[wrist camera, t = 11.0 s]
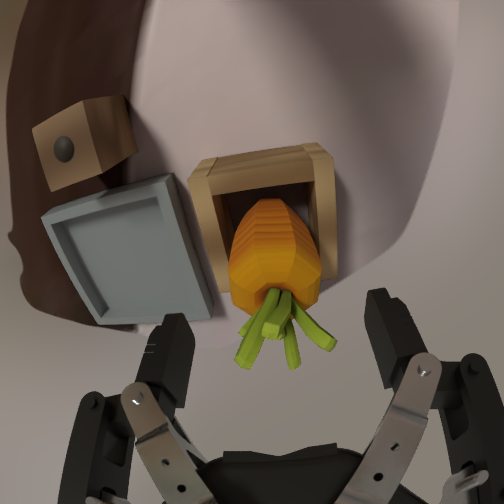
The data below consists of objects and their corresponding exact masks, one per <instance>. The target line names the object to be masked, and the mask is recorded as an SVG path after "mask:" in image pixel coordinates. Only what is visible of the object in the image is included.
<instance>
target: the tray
mask: <svg viewBox="0 0 504 504" xmlns="http://www.w3.org/2000/svg"><path fill="white" fill-rule="evenodd" d="M41 219H42V222H43V224H44V226H45V228H46V231H47V233H48V235H49V237H50V239H51V242H52V244H53V246H54V248H55V250H56V252H57V254H58V256H59V258H60V260H61V262H62V264H63V266H64V267H65V269H66V271H67V273H68V275H69V277H70V278H71V280H72V282H73V284H74V286H75V287H76V289H77V291H78V293H79V294H80V296H81V298H82V299H83V301H84V303H85V304H86V306H87V307H88V309H89V311H90V312H91V314H92V315H93V317H94V318H95V320H96V321H97V323H98V324H141V323H162V322H163V319H164V316H165V315H166V314H169V313H183V314H184V315H185V317H186V319H187V321H196V320H209V319H211V318H212V312H213V306H214V303H213V300H212V297H211V294H210V291H209V288H208V285H207V282H206V279H205V276H204V273H203V270H202V267H201V264H200V261H199V258H198V255H197V252H196V249H195V246H194V242H193V239H192V236H191V233H190V229H189V226H188V223H187V220H186V216H185V213H184V210H183V206H182V203H181V199H180V196H179V192H178V189H177V185H176V182H175V178H174V174H173V173H170V174H165V175H161V176H157V177H153V178H149V179H145V180H141V181H137V182H134V183H130V184H126V185H123V186H119V187H116V188H112V189H109V190H105V191H102V192H99V193H95V194H92V195H89V196H86V197H83V198H80V199H77V200H74V201H71V202H68V203H65V204H62V205H59V206H56V207H53V208H52V209H51V210H49V211H48V212H47V213H46V214H44V215H43V216H42V217H41Z"/></svg>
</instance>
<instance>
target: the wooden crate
mask: <svg viewBox="0 0 504 504" xmlns="http://www.w3.org/2000/svg"><path fill="white" fill-rule="evenodd" d="M187 182H188V185H189V189H190V193H191V196H192V200H193V204H194V207H195V211H196V215H197V218H198V222H199V225H200V229H201V232H202V236H203V239H204V242H205V246H206V249H207V253H208V256H209V259H210V263H211V266H212V269H213V272H214V276H215V279H216V282H217V285H218V289H219V292H220V293H226V292H231V290H230V282H229V275H228V263H229V258H230V254H231V249H232V244H233V241H234V237H235V232H234V228H233V223H232V219H231V214H230V210H229V206H228V201H227V197H226V193H231V192H237V191H243V190H250V189H256V188H263V187H270V186H277V185H284V184H292V183H300V182H305V184H306V194H307V204H308V215H309V227H310V235H311V237H312V239H313V242H314V244H315V247H316V250H317V252H318V255H319V258H320V261H321V265H322V271H321V281H322V280H329V279H336V278H337V215H336V193H335V176H334V163H333V157H332V156H331V155H330V154H328V153H327V152H326V151H325V150H324V149H323V148H322V147H321V146H320V145H319V144H318V143H309V144H301V145H298V146H290V147H282V148H275V149H268V150H261V151H254V152H248V153H242V154H236V155H230V156H225V157H219V158H218V157H215V158H210V159H205V160H202V161H201V162H200V163H199V165H198V166H197V167H196V169H195V170H194V171H193V173H192V174H191V175H190V177H189V178H188V179H187Z"/></svg>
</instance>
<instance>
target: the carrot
mask: <svg viewBox="0 0 504 504" xmlns="http://www.w3.org/2000/svg"><path fill="white" fill-rule="evenodd" d="M321 271H322V265H321V261H320V258H319V255H318V252H317V250H316V247H315V244H314V242H313V239H312V237H311V235H310V232H309V230H308V228H307V227H306V225H305V224H304V222H303V221H302V220H301V218H300V217H299V216H298V215H297V214H296V213H295V211H294V210H292V209H291V208H290V207H289V206H288V205H287V204H286V203H285V202H284V201H282V200H281V199H280V198H277V197H269V198H261V199H260V200H259V201H258V202H257V203H256V204H255V205H254V206H253V207H252V208H251V209H250V210H249V211H248V212H247V213H246V214H245V216H244V217H243V219H242V220H241V222H240V224H239V226H238V228H237V230H236V233H235V237H234V241H233V244H232V249H231V254H230V258H229V263H228V275H229V282H230V290H231V298H232V302H233V304H234V305H235V306H237V307H238V308H240V309H241V310H243V311H245V312H246V313H248V314H249V315H251V316H252V317H251V318H250V319H249V320H248V321H247V322H246V324H245V325H244V326H243V327H242V328H241V329H240V331H239V334H240V335H241V336H242V337H244V338H243V340H242V342H241V344H240V347H239V349H238V352H237V354H236V356H235V359H234V361H235V362H236V363H237V364H238V365H239V366H240V367H241V368H244V369H248V370H249V369H251V367H252V365H253V363H254V361H255V359H256V357H257V355H258V353H259V351H260V349H261V346H262V344H263V341H264V339H265V338H267V339H271V340H273V339H274V340H281V339H282V338H284V345H285V353H286V358H287V363H288V366H289V369H290V370H294V369H296V368H297V367H299V366H300V365H301V360H300V355H299V350H298V345H297V340H296V335H295V331H294V326H293V324H292V319H294V318H295V320H296V321H297V322H298V324H299V325H300V327H301V328H302V330H303V331H304V332H305V334H306V335H307V336H308V337H309V338H310V339H311V340H312V341H313V342H314V343H316V344H317V345H318V346H319V347H321V348H323V349H324V350H326V351H329V352H330V351H331V350H332V349H333V348H334V347H335V345H336V343H337V340H336V339H335V338H334V337H333V336H332V335H330V334H329V333H328V332H327V331H325V330H324V329H323V328H322V327H320V326H319V325H318V324H317V323H316V321H314V319H312V317H311V316H310V315H309V314H308V313H307V312H306V311H305V310H306V309H308V308H309V307H310V306H312V305H313V304H315V303H316V302H317V301H318V296H319V288H320V280H321Z"/></svg>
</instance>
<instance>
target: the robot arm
mask: <svg viewBox="0 0 504 504" xmlns="http://www.w3.org/2000/svg"><path fill="white" fill-rule="evenodd" d="M364 320H365V321H364V322H365V327H366V330H367V333H368V336H369V339H370V342H371V345H372V349H373V352H374V355H375V358H376V361H377V365H378V368H379V371H380V374H381V378H382V381H383V385H384V389H387V388H393V391H394V395H393V397H392V400H391V402H390V404H389V406H388V408H387V410H386V412H385V415H384V416H383V419H382V421H381V422H380V424H379V426H378V428H377V430H376V432H375V434H374V435H373V437H372V439H371V440H370V442H369V444H368V446H367V447H366V449H365V451H364V453H363V454H360V453H358V452H355V451H353V450H349V449H343V448H337V443H332V444H326V445H319V446H312V447H307V448H304V449H301V450H298V451H295V452H292V453H289V454H286V455H282V456H274V455H268V454H262V453H257V452H252V451H224V453H223V457H220V458H217V459H214V460H212V461H210V462H208V461H207V460H206V459H205V458H204V457H203V455H202V454H201V453H200V452H199V451H198V449H197V448H196V447H195V446H194V444H193V443H192V441H191V440H190V438H189V437H188V435H187V434H186V432H185V431H184V429H183V428H182V426H181V424H180V423H179V421H178V420H177V418H176V416H175V415H174V414H175V408H184V406H185V400H186V394H187V388H188V383H189V377H190V371H191V366H192V361H193V355H194V350H195V337H194V334H193V332H192V330H191V328H190V326H189V324H188V322H187V319H186V317H185V315H184V314H183V313H169V314H166V315H165V316H164V319H163V322H162V325H159V326H156V327H155V329H154V330H153V331H152V332H151V334H150V336H149V339H148V342H147V346H146V348H145V353H144V354H143V357H142V360H141V364H140V367H139V370H138V373H137V376H136V380H135V382H134V383H132V384H130V385H128V386H127V387H126V388H125V389H124V390H123V392H122V394H118V395H114V396H110V397H104V396H103V395H102V394H101V393H99V392H96V391H93V392H90V393H88V394H86V395H85V396H84V397H83V398H82V400H81V402H80V405H79V408H78V412H77V415H76V419H75V422H74V426H73V430H72V433H71V437H70V441H69V446H68V450H67V454H66V459H65V463H64V468H63V473H62V478H61V484H60V490H59V496H58V504H130V502H129V501H127V494H128V485H129V477H130V469H131V461H132V455H133V448H134V441H135V436H136V438H137V442H136V443H135V446H136V449H137V451H138V453H139V455H140V457H141V459H142V461H143V463H144V465H145V467H146V469H147V471H148V472H149V474H150V476H151V477H152V480H153V481H154V483H155V485H156V487H157V488H158V490H159V492H160V493H161V495H162V497H163V498H164V500H165V501H164V502H163V503H162V504H428V503H427V502H425V501H424V500H422V499H421V498H420V497H418V496H416V495H415V494H414V493H413V492H411V491H410V490H408V489H407V488H406V487H404V486H403V485H402V484H400V482H401V480H402V478H403V476H404V474H405V472H406V470H407V468H408V466H409V464H410V462H411V460H412V458H413V456H414V454H415V452H416V450H417V447H418V445H419V443H420V440H421V438H422V436H423V433H424V431H425V428H426V426H427V422H428V418H427V415H428V412H429V409H438V410H439V414H440V418H441V422H442V426H443V431H444V435H445V439H446V444H447V450H448V455H449V461H450V467H451V473H452V476H450V477H449V478H448V479H447V481H446V482H445V484H444V487H443V494H442V499H441V502H440V503H439V504H504V406H503V403H502V400H501V397H500V394H499V392H498V389H497V386H496V384H495V381H494V378H493V376H492V373H491V371H490V369H489V366H488V364H487V362H486V360H485V359H484V358H483V357H482V356H481V355H478V354H475V353H471V354H468V355H466V356H464V357H463V359H462V360H461V362H445V361H440V360H439V359H438V358H437V357H436V356H434V355H433V354H430V353H429V352H428V351H427V349H426V347H425V344H424V342H423V340H422V338H421V335H420V333H419V331H418V329H417V327H416V325H415V323H414V321H413V319H412V317H411V316H410V313H409V311H408V309H407V306H406V305H405V304H404V303H403V302H402V301H401V300H400V299H399V298H390V296H389V294H388V291H387V290H386V288H378V289H373V290H369V291H368V292H367V298H366V306H365V314H364Z"/></svg>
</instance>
